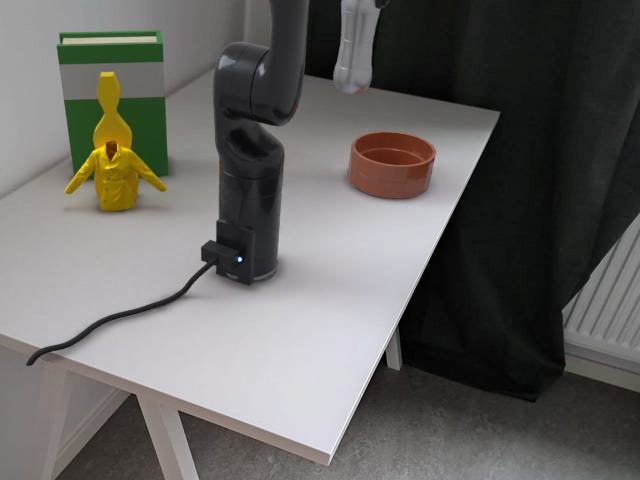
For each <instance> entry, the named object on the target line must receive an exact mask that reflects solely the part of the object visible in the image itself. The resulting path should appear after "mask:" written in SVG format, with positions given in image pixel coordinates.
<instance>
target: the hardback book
mask: <svg viewBox="0 0 640 480" xmlns="http://www.w3.org/2000/svg"><path fill="white" fill-rule="evenodd" d="M58 37H59V38H58V39H59V43H58V44H56V52H57V59H58V67H59V75H60V81H61V82H60V83H61V88H62V89H61V90H62V97H63V105H64V110H65V111H64V112H65V118H66V126H67V133H68V134H67V135H68V141H69V148H70V156H71V163H72V170H73V177H74V176H75V175H76V174H77V172H78V171H79V170H80V168H81V167H82V166H83V165H84V164H85V162H86V161H87V159H88V158H89V156H90V155H91V153H92V151H94V150H95V145H94V141H93V136H94V132H95V128H96V127H97V125H98V123H99V122H100V120H101V119H102V117H103V116H104V114H105V113H104V110H103V108H102V106H101V104H100V102H99V100H98V97H97V87H98V83H99V79H100V75H101V72H114V73H115V75H116V77H117V80H118V82H119V85H120V89H121V92H120V98H119V103H118V106H117V112H118V114H119V115H120V116H121V118H122V119H123V120H124V121H125V122H126V124H127V125H128V126H129V127H130V129H131V132H132V143H131V150H132V151H133V152H134V153H135V154H136V155H137V156H138V157H139V158H140V159H141V160H142V161H143V162H144V163H145V164H146V165H147V166H148V167H149V168H150V170H151V171H152V172H153V173H154V174H155V175H156V176H157V177H161V176H164V177H165V176H169V157H168V153H169V152H168V134H167V133H168V132H167V131H168V130H167V110H166V89H165V88H166V87H165V84H166V83H165V63H164V43H163V36H162V30H161V29H155V30H154V29H153V30H152V29H151V30H150V29H149V30H110V31H109V30H108V31H66V32H65V31H64V32H63V31H62V32H58ZM95 171H96V169H95V170H94V171H93V172H92V174H91V175H90V176H89V177H88V178H87V179H88V180H89V179H94V177H95ZM138 177H141V176H140V175H139V174H138ZM87 179H86V180H87Z"/></svg>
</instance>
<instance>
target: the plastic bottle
mask: <svg viewBox="0 0 640 480" xmlns="http://www.w3.org/2000/svg"><path fill="white" fill-rule="evenodd" d="M377 2H378V0H342V1H341V2H340V3H341V4H340V7H341V8H340V9H341V29H340V31H341V32H340V34H341V35H340V45H339V50H338V54H337V60H336V63H335V66H334V70H333V74H332V77H333V78H332V79H333V85H334V87H335V89H336V90H337V91H338V92H341V93H345V94H351V95H358V94H363V93H365V92H366V91H368V89H369V88H370V87H371V82H372V79H373V66H372V61H373V59H372V58H373V43H374V37H375V33H376V28H377V24H378V20H379V17H380V13H381V9H378V8H377Z"/></svg>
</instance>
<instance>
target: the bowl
mask: <svg viewBox="0 0 640 480" xmlns="http://www.w3.org/2000/svg"><path fill="white" fill-rule="evenodd" d="M436 155H437V150H436V148H435V145H434V144H432V143H431V142H430V141H428V140H427V139H424V138H422V137H420V136H418V135H415V134H411V133H408V132H402V131H395V130H378V131H370V132H366V133H364V134H361V135H358V136H356V138H354V139H353V140H352V143H351V146H350V154H349V162H348V169H347V179H348V181H349V183H350V184H351V185H352V186H353V187H354V188H356V189H358V190H360V191H361V192H364V193H366V194H370V195H372V196H377V197H381V198H388V199H389V198H390V199H402V198H410V197H415V196H417V195H420V194H422V193H424V192H426V191H427V190H428V189H429V187H430V183H431V178H432V174H433V169H434V164H435V159H436Z"/></svg>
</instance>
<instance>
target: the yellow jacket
mask: <svg viewBox="0 0 640 480" xmlns="http://www.w3.org/2000/svg"><path fill="white" fill-rule="evenodd" d="M120 92H121V89H120V85H119V82H118V80H117V77H116V75H115V73H114V72H101V75H100V79H99V83H98V87H97V97H98V100H99V102H100V104H101V106H102V108H103V110H104V113H105V114H104V116H103V117H102V119H101V120H100V122H99V123H98V125H97V127H96V128H95V132H94V136H93V141H94V145H95V150H94V151H92V153H91V155H90V156H89V158H88V159H87V161H86V162H85V164H84V165H83V166H82V167H81V168H80V170H79V171H78V172H77V174H76V175H75V176H74V175H73V178H72V179H71V181H70V182H69V183H68V185H67V186H66V188H65V189H64V193H65V194H67V195H72V194H73V193H74V192H75V191H76V190H77V189H79V187H80V186H82V185H83V184H84V183H85V181H86V180H87V178H88V177H89V176H90V175H91V174H92V172H93V171H94V170H95V169H96V171H95V177H94V178H93V182H94V183H93V184H94V189H95V194H96V196H97V198H98V200H99V208H100V209H101V210H102V211H104V212H118V211H119V212H121V211H122V210H127V209H131V208H133V207H135V206H136V203H135V201H136V200H137V197H138V194H139V187H140V186H139V185H140V184H139V183H140V180H139V177H138V174H139V175H140V177H141V178H142V179H143V180H145V181H146V182H147V183H148V184H150V185H151V186H152V187H153V188H154V189H156V190H158V191H159V192H161V193H164V192H166V191H167V190H168V187H166V185H165V184H164V182H162V181H161V179H160V178H159V176H156V175H155V174H154V173H153V172H152V171H151V170H150V168H149V167H148V166H147V165H146V164H145V163H144V162H143V161H142V160H141V159H140V158H139V157H138V156H137V155H136V154H135V153H134V152H133V151H132V150H131V143H132V132H131V129H130V127H129V126H128V125H127V124H126V122H125V121H124V120H123V119H122V118H121V116H120V115H119V114H118V112H117V106H118V103H119V98H120Z"/></svg>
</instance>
